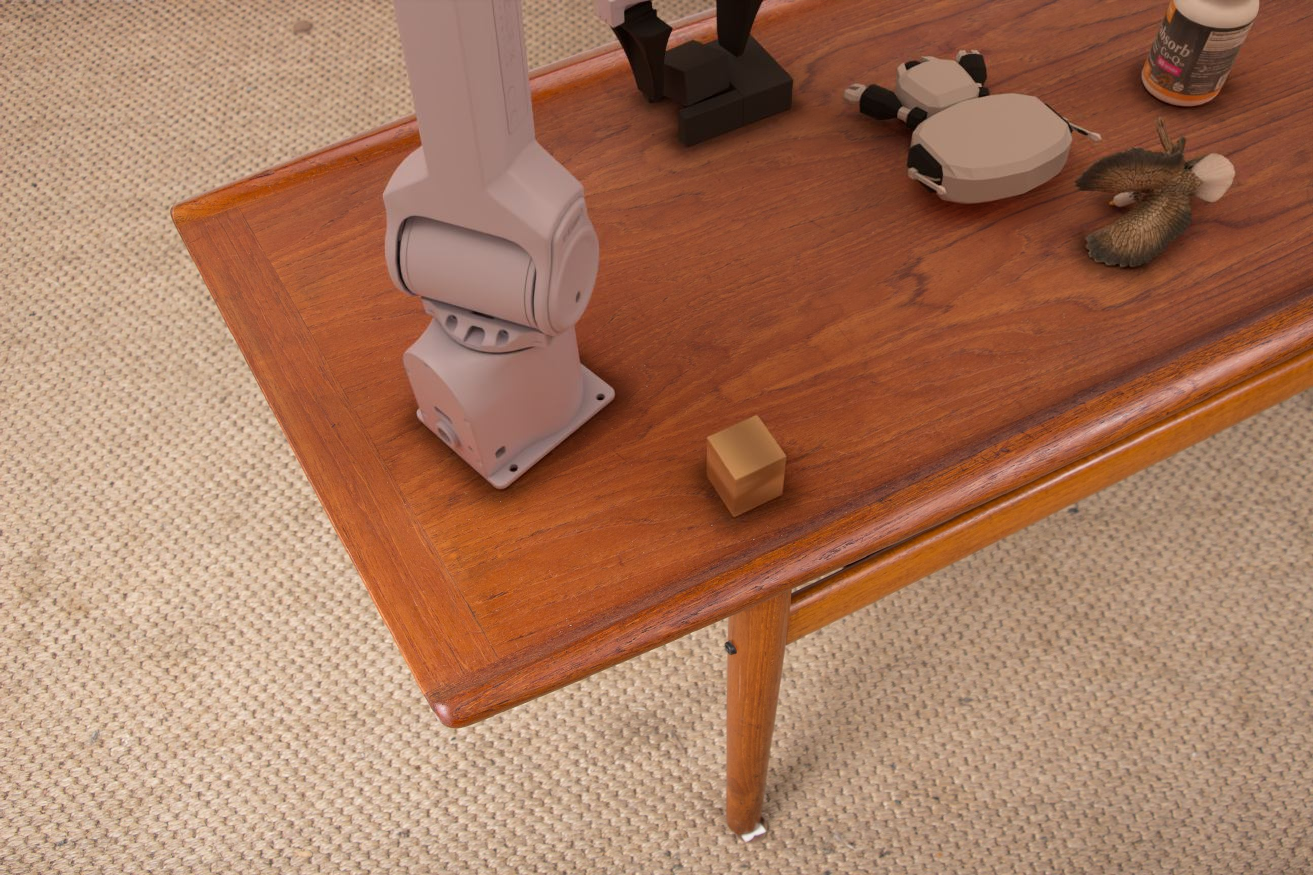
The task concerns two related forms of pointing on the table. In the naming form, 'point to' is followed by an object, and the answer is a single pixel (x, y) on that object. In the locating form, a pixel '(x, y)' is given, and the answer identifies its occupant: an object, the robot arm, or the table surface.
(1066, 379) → the table surface
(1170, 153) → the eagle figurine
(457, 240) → the robot arm
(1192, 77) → the pill bottle
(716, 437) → the cube
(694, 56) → the small pad
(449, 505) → the table surface
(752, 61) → the base pad
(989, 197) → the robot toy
